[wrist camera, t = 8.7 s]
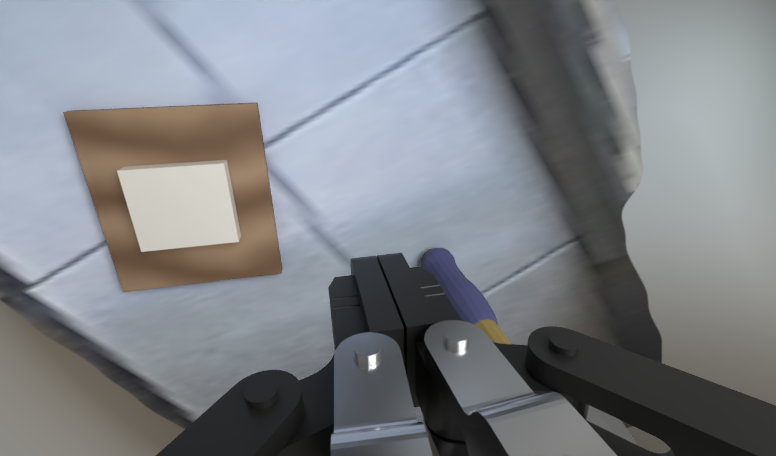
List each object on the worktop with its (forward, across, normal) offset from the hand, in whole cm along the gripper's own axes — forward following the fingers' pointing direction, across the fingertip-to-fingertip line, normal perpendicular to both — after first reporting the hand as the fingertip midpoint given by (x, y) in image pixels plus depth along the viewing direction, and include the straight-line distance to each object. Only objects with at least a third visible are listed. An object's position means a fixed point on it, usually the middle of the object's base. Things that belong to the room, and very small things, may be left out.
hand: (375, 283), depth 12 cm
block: (+29, +9, +6) cm, 31 cm away
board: (+31, +14, +6) cm, 35 cm away
